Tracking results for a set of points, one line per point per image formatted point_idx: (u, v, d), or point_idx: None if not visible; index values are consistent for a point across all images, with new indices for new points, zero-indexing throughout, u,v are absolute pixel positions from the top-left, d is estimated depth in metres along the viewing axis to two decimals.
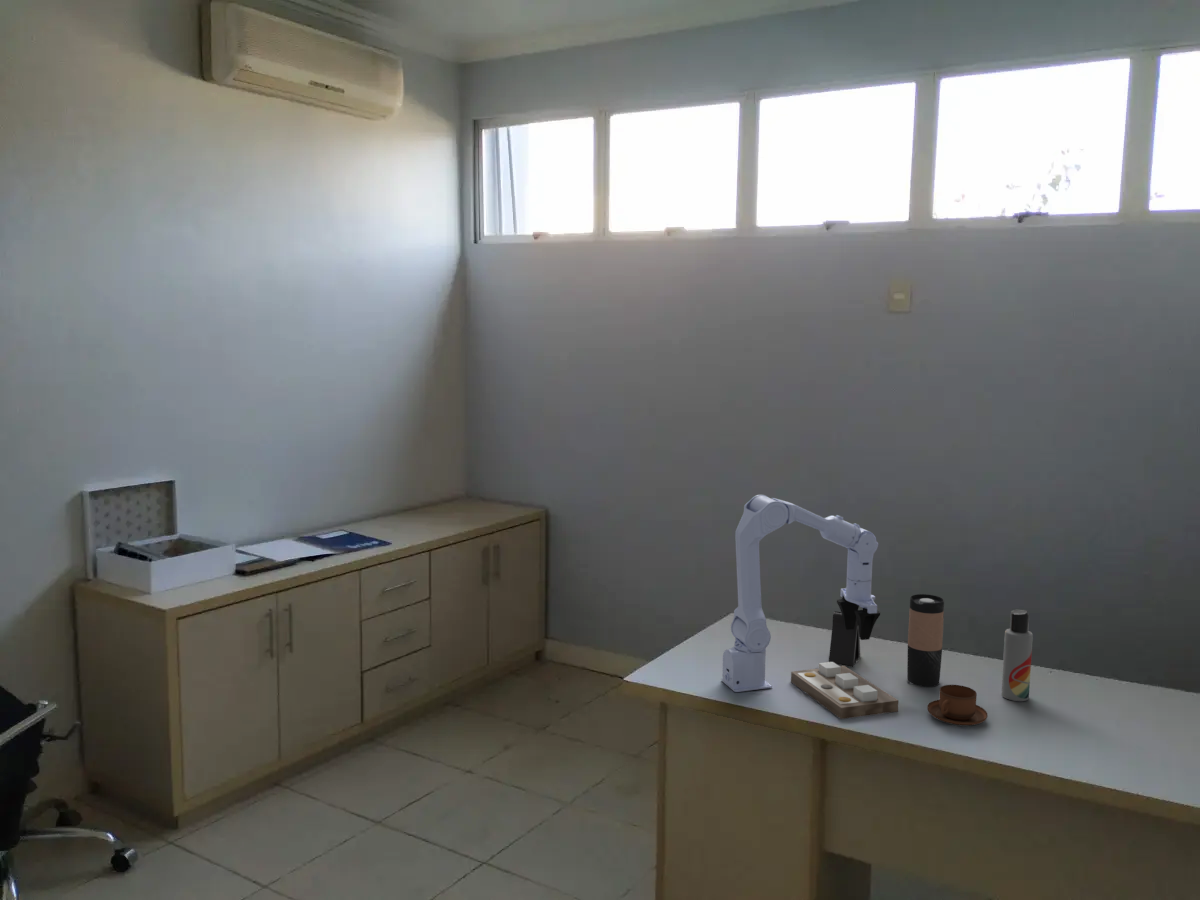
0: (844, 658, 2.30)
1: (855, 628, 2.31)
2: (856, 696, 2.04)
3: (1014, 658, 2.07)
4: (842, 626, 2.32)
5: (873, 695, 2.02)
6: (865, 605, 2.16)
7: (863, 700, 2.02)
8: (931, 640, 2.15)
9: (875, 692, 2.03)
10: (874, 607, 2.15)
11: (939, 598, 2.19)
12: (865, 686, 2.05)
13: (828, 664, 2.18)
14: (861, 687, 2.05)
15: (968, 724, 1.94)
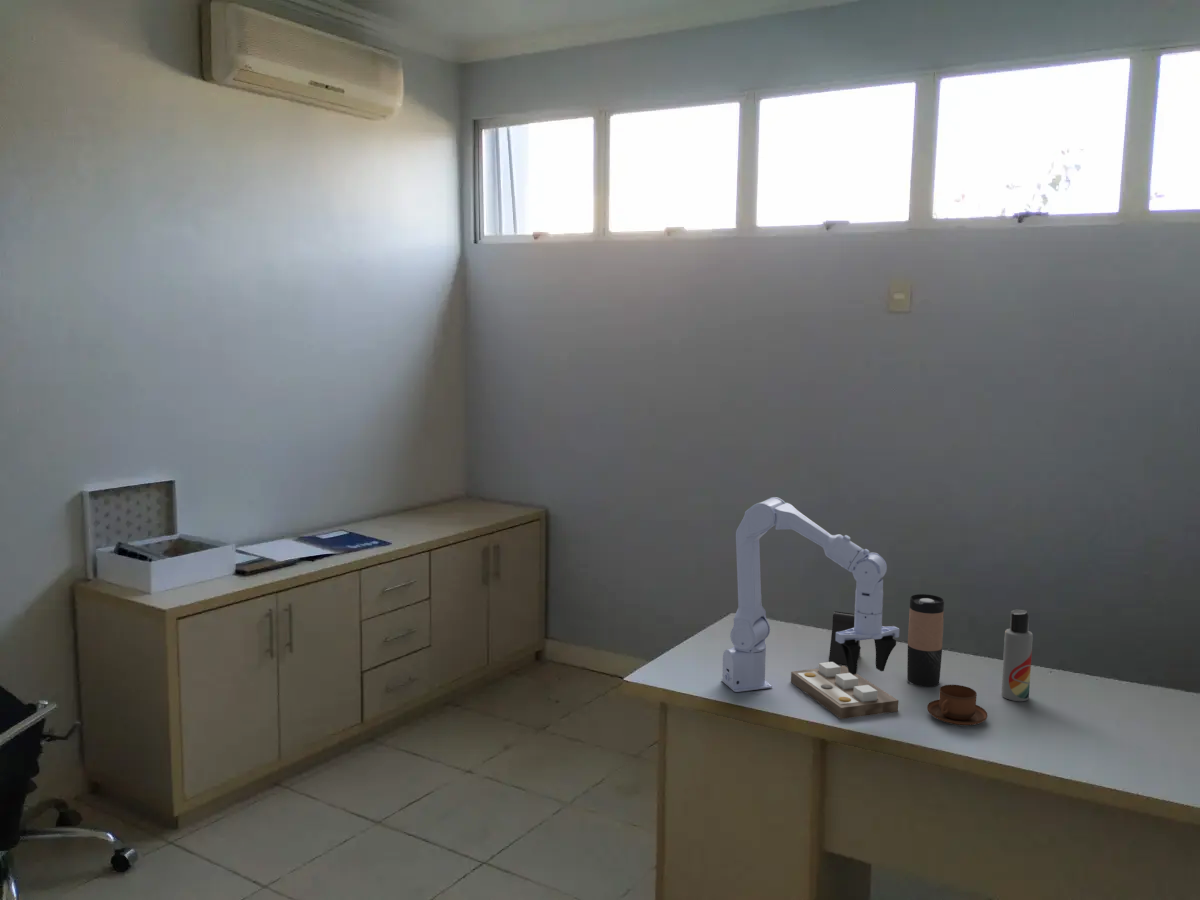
0: (844, 658, 2.30)
1: None
2: (856, 696, 2.04)
3: (1014, 658, 2.07)
4: (842, 626, 2.32)
5: (873, 695, 2.02)
6: None
7: (863, 700, 2.02)
8: (931, 640, 2.15)
9: (875, 692, 2.03)
10: (838, 636, 2.00)
11: (939, 598, 2.19)
12: (865, 686, 2.05)
13: (828, 664, 2.18)
14: (861, 687, 2.05)
15: (968, 724, 1.94)
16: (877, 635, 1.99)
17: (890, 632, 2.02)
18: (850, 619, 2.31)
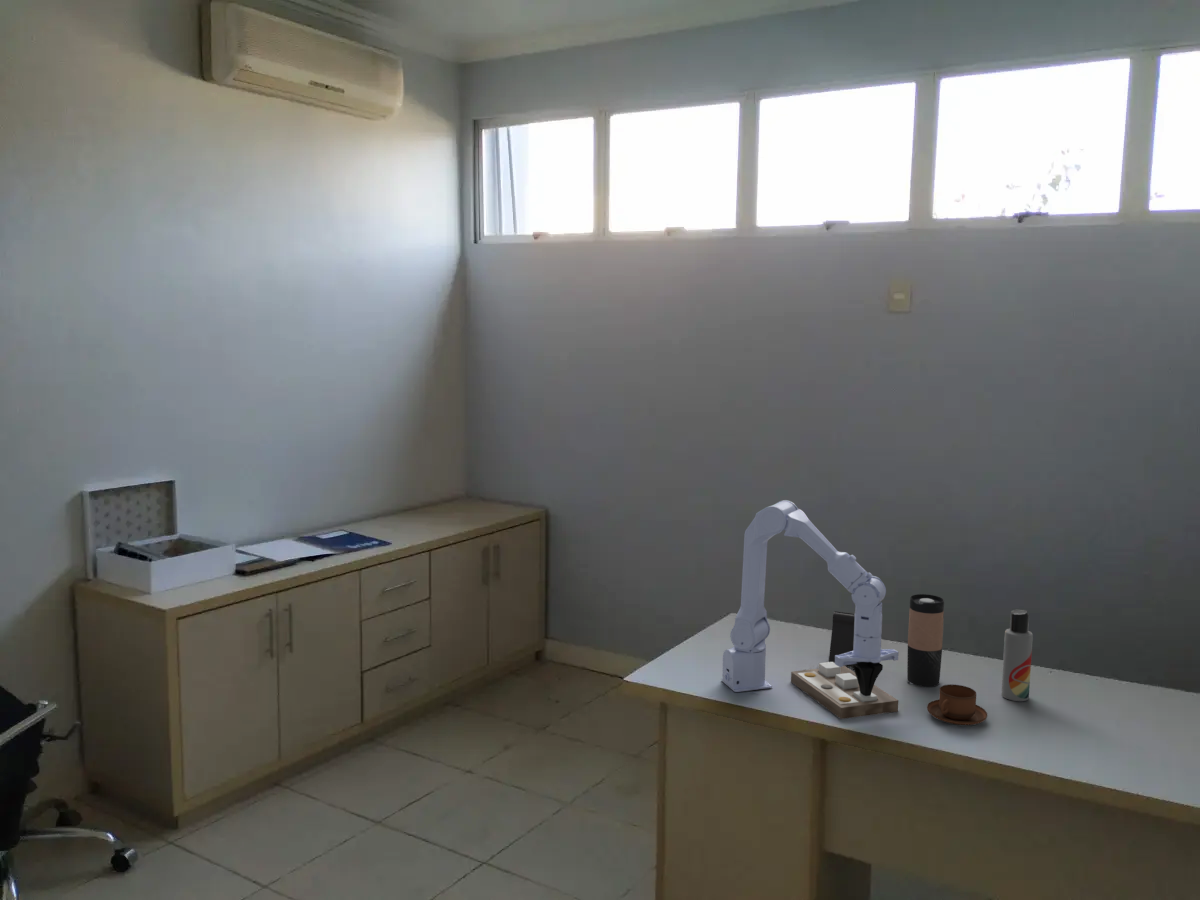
0: None
1: None
2: None
3: (1014, 658, 2.07)
4: (842, 626, 2.32)
5: (873, 700, 2.03)
6: None
7: None
8: (931, 640, 2.15)
9: (875, 697, 2.03)
10: (837, 659, 2.01)
11: (939, 598, 2.19)
12: None
13: (828, 664, 2.18)
14: None
15: (968, 724, 1.94)
16: (876, 659, 1.99)
17: (889, 655, 2.03)
18: (850, 619, 2.31)
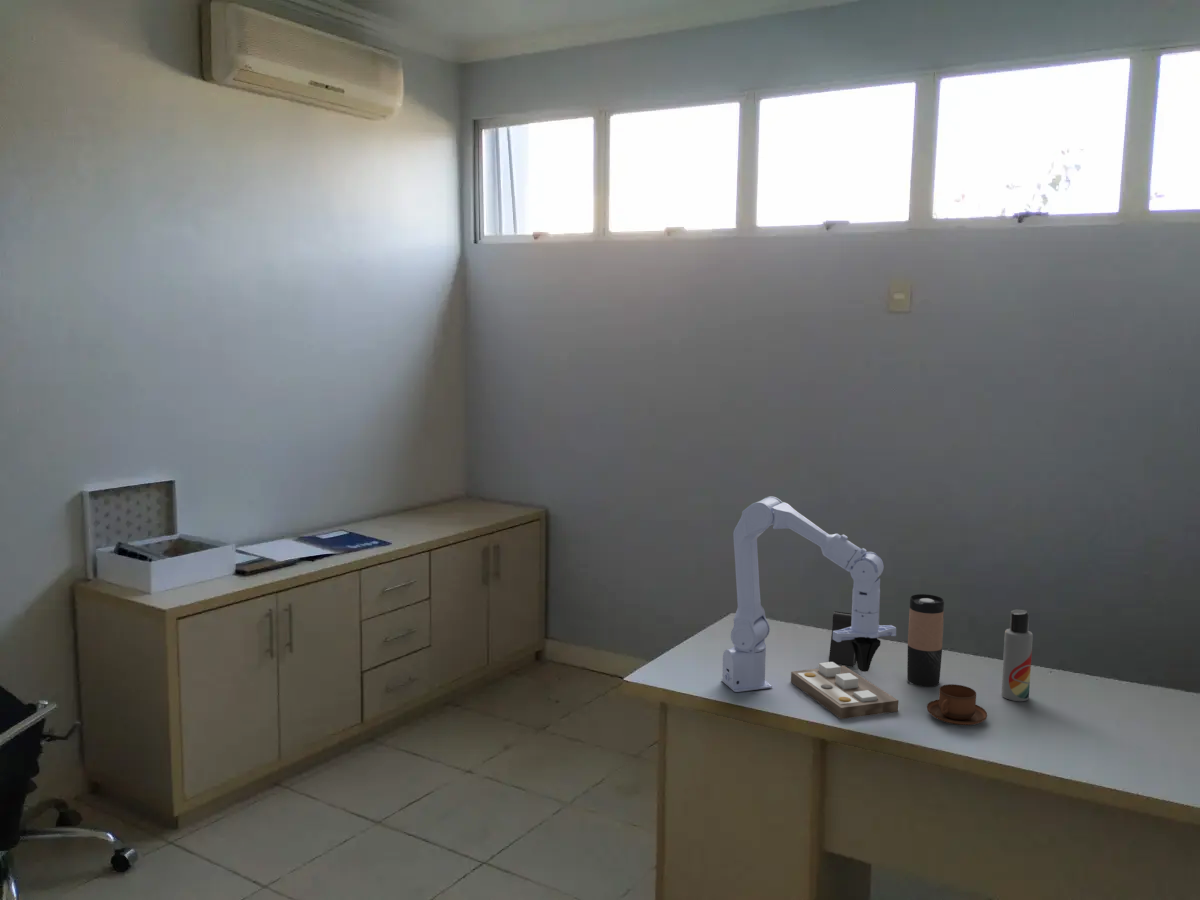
0: (844, 658, 2.30)
1: None
2: None
3: (1014, 658, 2.07)
4: (842, 626, 2.32)
5: (873, 700, 2.03)
6: None
7: None
8: (931, 640, 2.15)
9: (875, 697, 2.03)
10: (835, 634, 2.01)
11: (939, 598, 2.19)
12: (865, 691, 2.05)
13: (828, 664, 2.18)
14: (861, 692, 2.05)
15: (968, 724, 1.94)
16: (874, 634, 2.00)
17: (887, 631, 2.03)
18: (850, 619, 2.31)
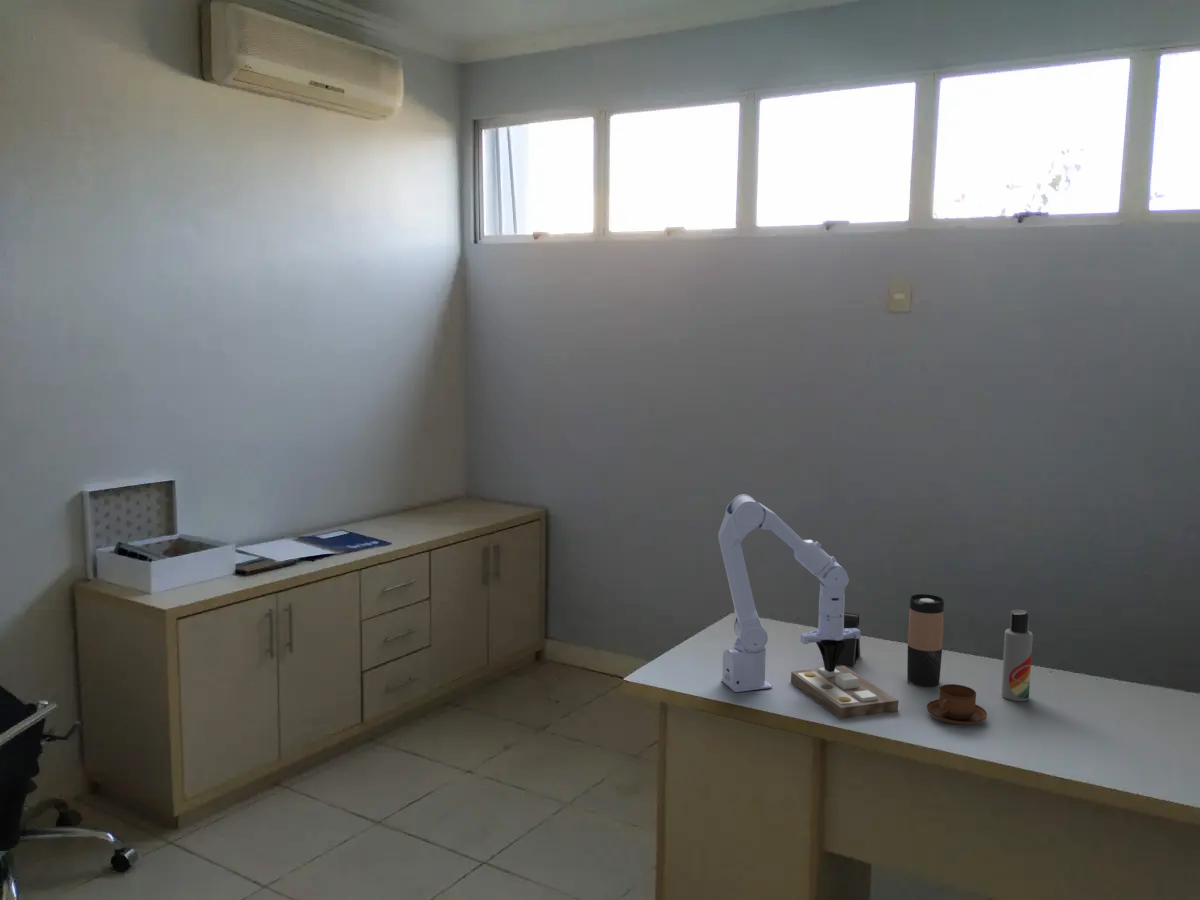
0: (844, 658, 2.30)
1: None
2: None
3: (1014, 658, 2.07)
4: None
5: (873, 700, 2.03)
6: None
7: None
8: (931, 640, 2.15)
9: (875, 697, 2.03)
10: (803, 637, 2.15)
11: (939, 598, 2.19)
12: (865, 691, 2.05)
13: None
14: (861, 692, 2.05)
15: (967, 724, 1.94)
16: (839, 636, 2.14)
17: (851, 634, 2.17)
18: (850, 619, 2.31)
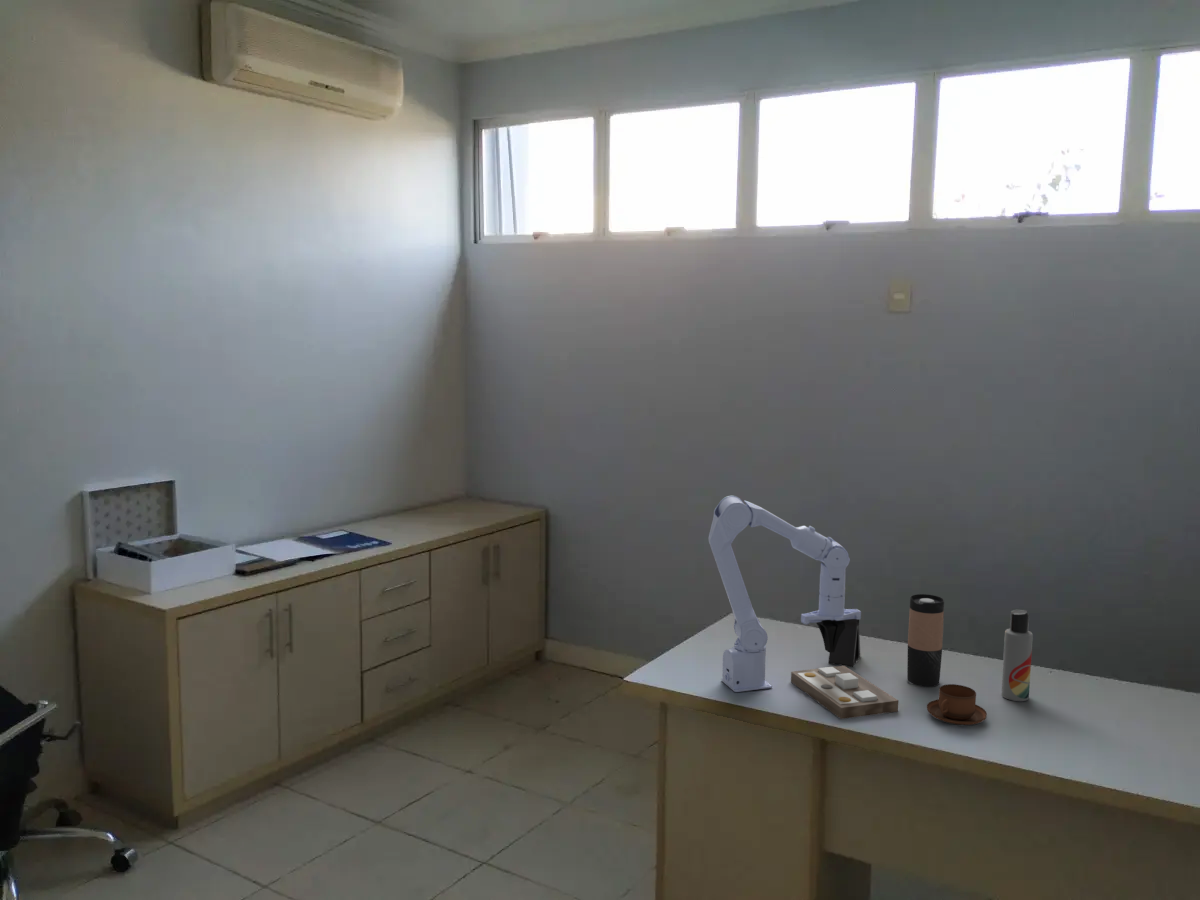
0: (844, 658, 2.30)
1: (855, 628, 2.31)
2: None
3: (1014, 658, 2.07)
4: None
5: (873, 700, 2.03)
6: None
7: None
8: (931, 640, 2.15)
9: (875, 697, 2.03)
10: (803, 617, 2.14)
11: (939, 598, 2.19)
12: (865, 691, 2.05)
13: (828, 670, 2.18)
14: (861, 692, 2.05)
15: (967, 724, 1.94)
16: (839, 617, 2.13)
17: (852, 614, 2.16)
18: (850, 619, 2.31)
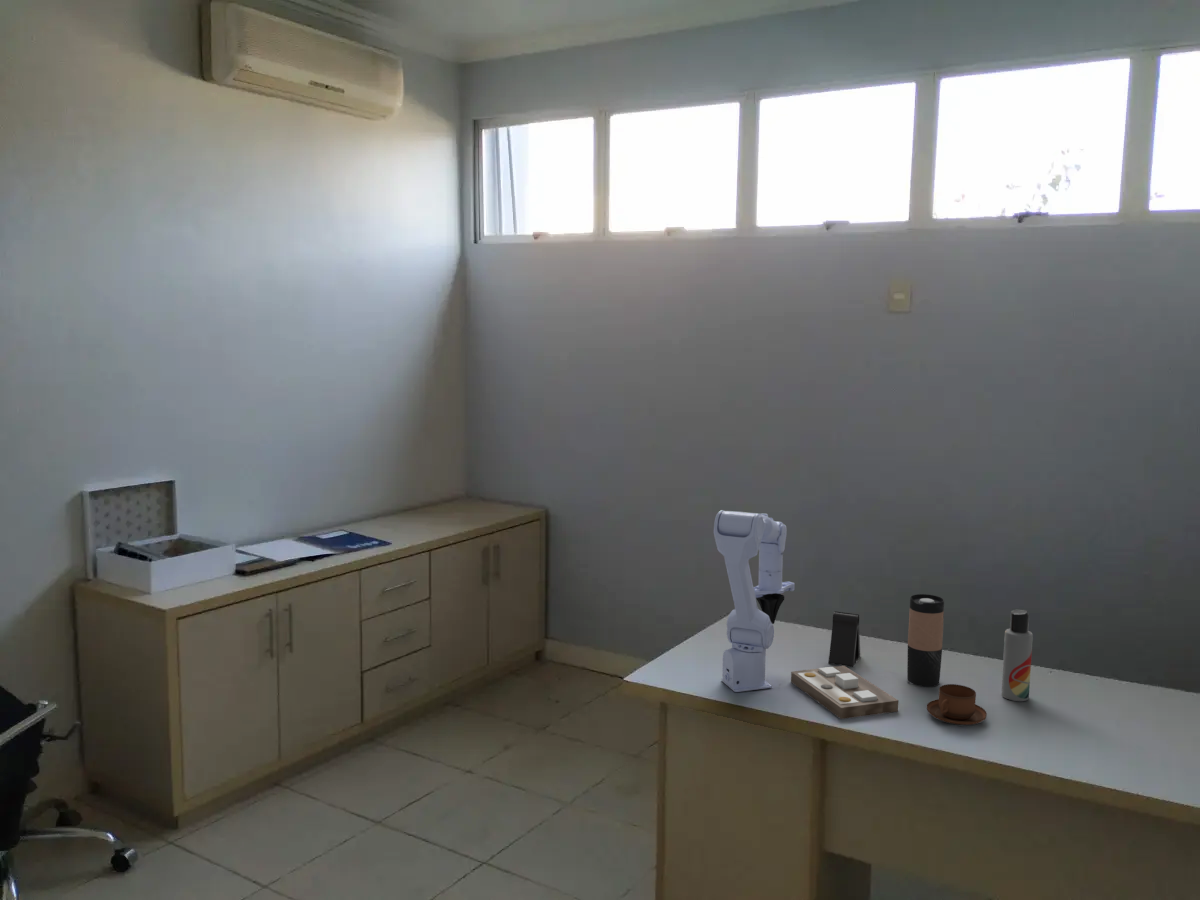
0: (844, 658, 2.30)
1: (855, 628, 2.31)
2: None
3: (1014, 658, 2.07)
4: (842, 626, 2.32)
5: (873, 700, 2.03)
6: None
7: None
8: (931, 640, 2.15)
9: (875, 697, 2.03)
10: None
11: (939, 598, 2.19)
12: (865, 691, 2.05)
13: (828, 670, 2.18)
14: (861, 692, 2.05)
15: (967, 724, 1.94)
16: (780, 590, 2.26)
17: (788, 586, 2.30)
18: (850, 619, 2.31)
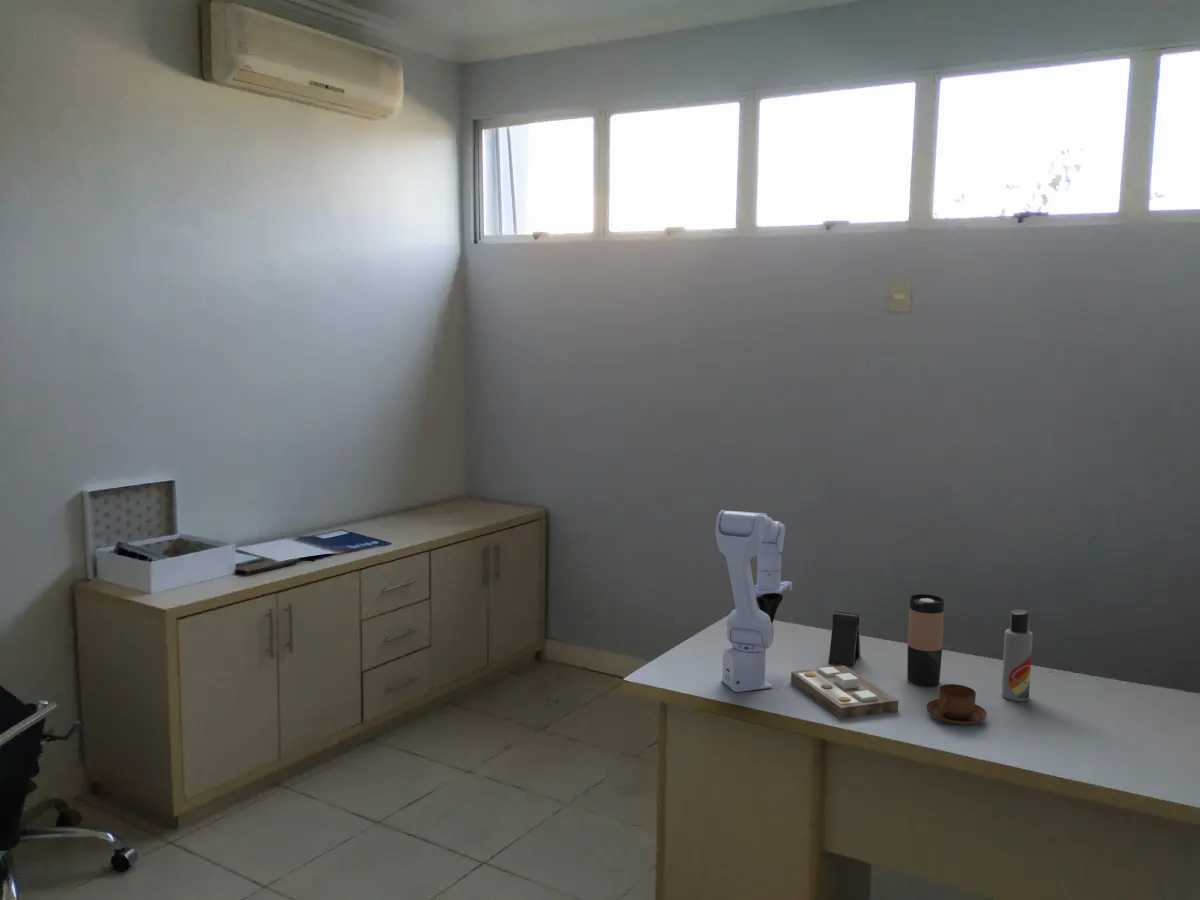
0: (844, 658, 2.30)
1: (855, 628, 2.31)
2: None
3: (1014, 658, 2.07)
4: (842, 626, 2.32)
5: (873, 700, 2.03)
6: None
7: None
8: (931, 640, 2.15)
9: (875, 697, 2.03)
10: None
11: (938, 598, 2.19)
12: (865, 691, 2.05)
13: (828, 670, 2.18)
14: (861, 692, 2.05)
15: (967, 723, 1.94)
16: (779, 589, 2.26)
17: (786, 586, 2.31)
18: (850, 619, 2.31)
